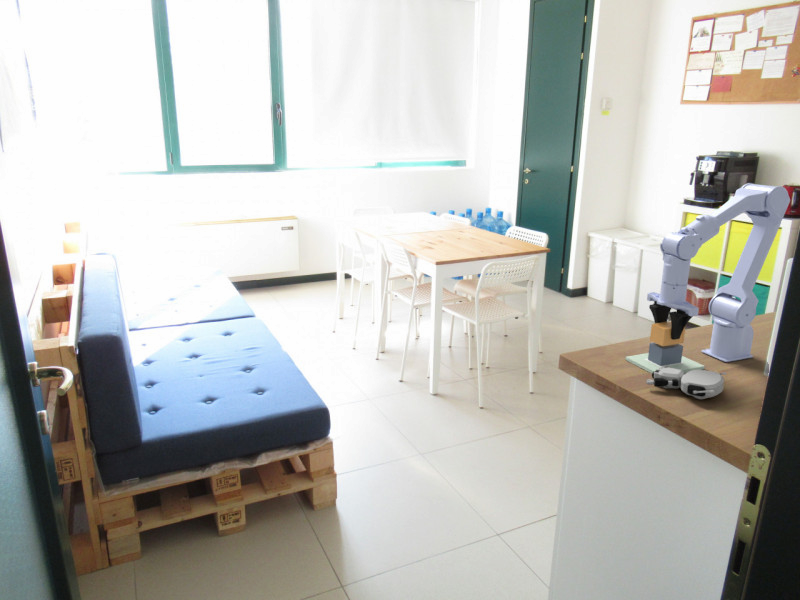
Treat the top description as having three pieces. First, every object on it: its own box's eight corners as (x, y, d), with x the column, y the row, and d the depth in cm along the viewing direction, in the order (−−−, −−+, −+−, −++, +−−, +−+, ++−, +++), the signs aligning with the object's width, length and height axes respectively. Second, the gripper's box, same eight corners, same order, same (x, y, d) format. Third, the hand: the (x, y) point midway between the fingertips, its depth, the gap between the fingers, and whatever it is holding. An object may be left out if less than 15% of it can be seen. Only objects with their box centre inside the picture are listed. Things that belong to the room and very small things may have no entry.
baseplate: (668, 352, 158) (668, 349, 157) (704, 369, 147) (705, 365, 147) (625, 359, 153) (625, 356, 153) (659, 377, 142) (660, 374, 142)
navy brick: (668, 356, 153) (670, 340, 151) (681, 362, 149) (683, 346, 147) (647, 359, 151) (649, 343, 149) (660, 365, 147) (662, 349, 145)
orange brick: (670, 337, 151) (672, 320, 150) (683, 343, 147) (685, 326, 146) (649, 340, 149) (651, 323, 148) (662, 346, 145) (665, 329, 144)
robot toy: (643, 394, 136) (715, 408, 126) (643, 376, 135) (717, 388, 125) (659, 377, 145) (728, 389, 135) (660, 359, 144) (729, 370, 134)
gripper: (639, 277, 149) (634, 328, 153) (684, 291, 136) (677, 347, 140) (662, 274, 151) (656, 325, 155) (708, 288, 138) (700, 343, 142)
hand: (667, 335), depth 148 cm, fingers closed on orange brick, 4 cm apart
